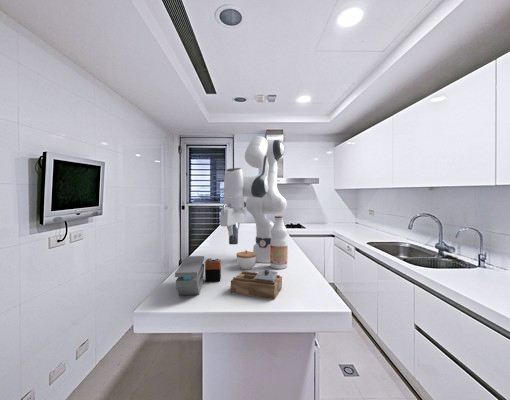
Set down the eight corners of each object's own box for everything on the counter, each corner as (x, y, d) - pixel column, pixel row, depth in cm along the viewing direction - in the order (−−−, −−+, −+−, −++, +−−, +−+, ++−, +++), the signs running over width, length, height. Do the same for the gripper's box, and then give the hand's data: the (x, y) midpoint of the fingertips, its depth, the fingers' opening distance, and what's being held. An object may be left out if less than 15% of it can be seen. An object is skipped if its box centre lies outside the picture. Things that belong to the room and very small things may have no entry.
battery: (206, 278, 117) (206, 257, 117) (220, 278, 118) (220, 257, 117) (204, 282, 113) (204, 259, 113) (220, 282, 113) (220, 259, 113)
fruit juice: (278, 270, 131) (279, 216, 131) (266, 266, 138) (266, 215, 138) (291, 267, 137) (291, 215, 137) (278, 263, 144) (279, 214, 144)
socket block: (242, 283, 111) (242, 270, 111) (281, 288, 106) (281, 274, 105) (230, 293, 100) (230, 278, 100) (274, 299, 94) (274, 284, 94)
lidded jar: (233, 269, 132) (233, 252, 131) (239, 264, 142) (239, 248, 142) (253, 271, 129) (253, 253, 129) (258, 265, 139) (258, 249, 139)
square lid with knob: (261, 276, 106) (261, 267, 106) (277, 277, 103) (277, 269, 103) (255, 281, 99) (255, 272, 99) (273, 283, 97) (273, 273, 97)
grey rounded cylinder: (231, 242, 116) (231, 220, 116) (239, 243, 115) (239, 221, 114) (227, 244, 112) (227, 221, 112) (235, 244, 111) (235, 222, 111)
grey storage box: (197, 301, 92) (197, 272, 92) (175, 302, 91) (175, 272, 91) (204, 279, 117) (204, 255, 117) (187, 279, 116) (187, 256, 116)
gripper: (230, 204, 102) (229, 238, 102) (248, 203, 122) (248, 231, 122) (216, 204, 104) (216, 237, 105) (236, 203, 124) (236, 231, 124)
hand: (233, 234), depth 113 cm, fingers closed on grey rounded cylinder, 4 cm apart
